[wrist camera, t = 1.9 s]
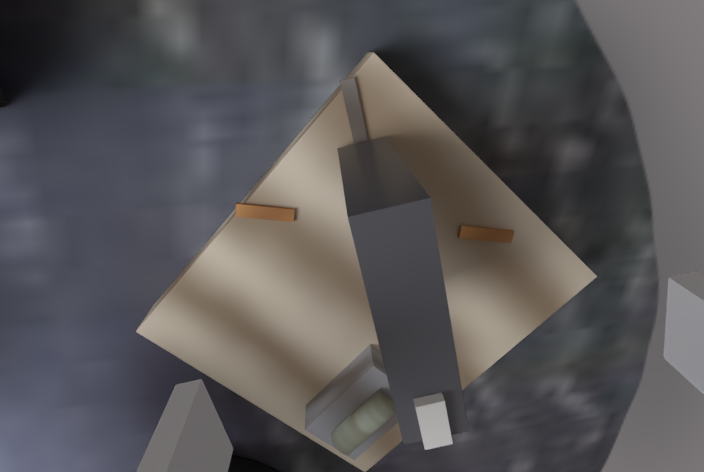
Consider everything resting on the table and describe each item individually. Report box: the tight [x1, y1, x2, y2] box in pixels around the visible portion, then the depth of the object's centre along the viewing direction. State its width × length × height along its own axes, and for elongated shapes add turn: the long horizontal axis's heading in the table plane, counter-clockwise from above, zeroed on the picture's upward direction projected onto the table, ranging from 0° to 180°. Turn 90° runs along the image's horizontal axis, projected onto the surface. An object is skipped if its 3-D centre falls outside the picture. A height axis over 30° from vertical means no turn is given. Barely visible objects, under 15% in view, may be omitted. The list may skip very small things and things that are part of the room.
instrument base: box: [136, 52, 597, 472], centre depth 26 cm, size 20×18×6 cm
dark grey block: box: [337, 137, 469, 450], centre depth 19 cm, size 9×2×10 cm, turn 13°
